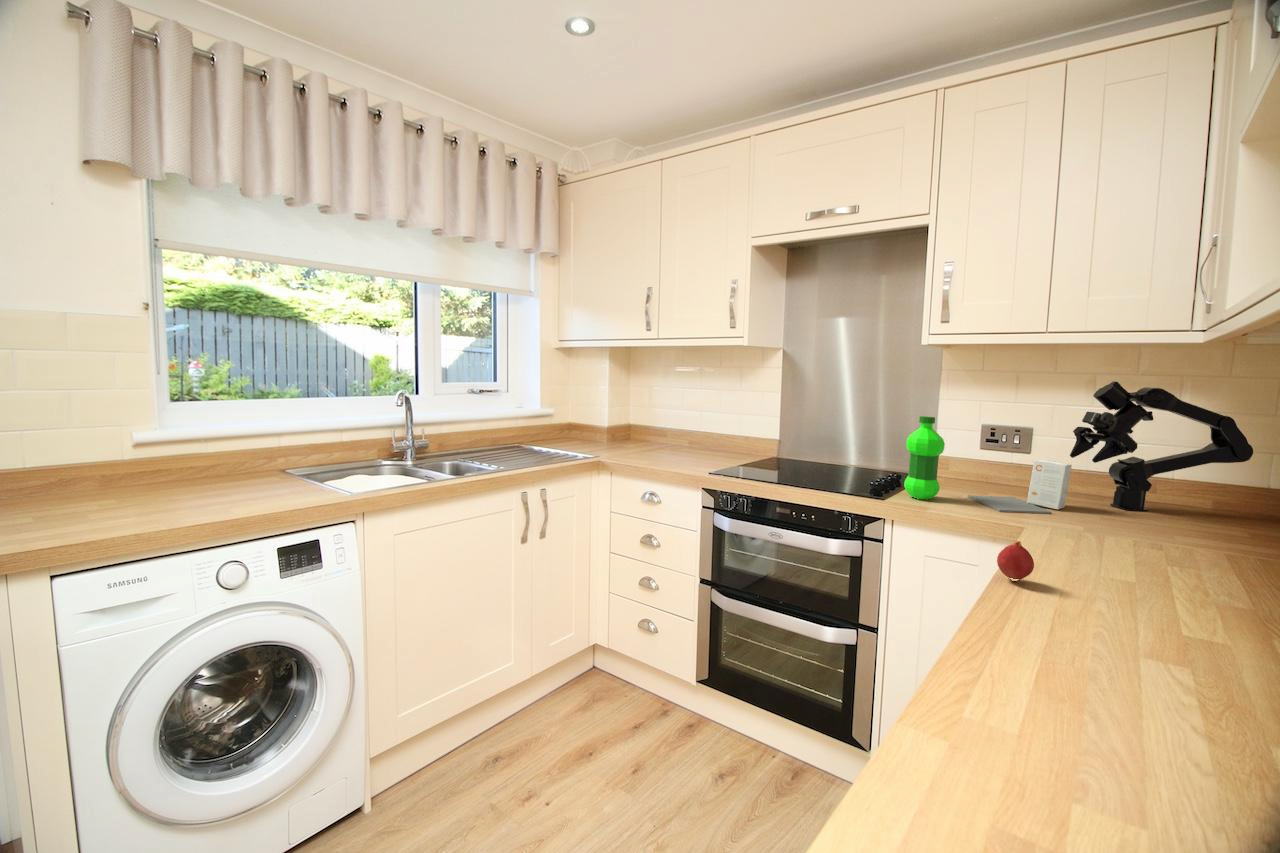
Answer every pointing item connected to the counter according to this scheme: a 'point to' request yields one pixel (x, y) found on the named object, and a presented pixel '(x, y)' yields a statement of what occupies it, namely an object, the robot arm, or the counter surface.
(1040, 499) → the small box
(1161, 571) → the counter surface
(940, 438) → the plastic bottle
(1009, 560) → the onion
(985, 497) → the mat
